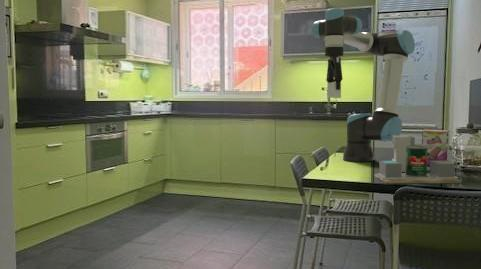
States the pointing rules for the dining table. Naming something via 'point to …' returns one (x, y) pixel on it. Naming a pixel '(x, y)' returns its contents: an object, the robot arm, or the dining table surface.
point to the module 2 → (442, 168)
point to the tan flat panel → (404, 177)
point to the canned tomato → (416, 161)
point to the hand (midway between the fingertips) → (333, 97)
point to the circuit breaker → (402, 148)
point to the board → (422, 181)
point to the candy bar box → (436, 145)
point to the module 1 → (390, 168)
